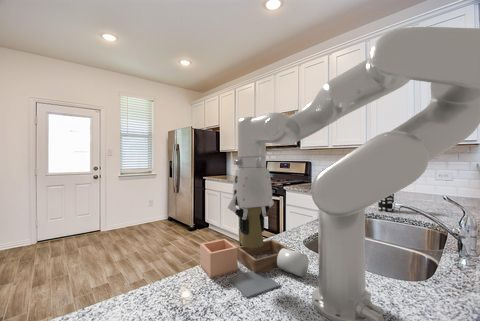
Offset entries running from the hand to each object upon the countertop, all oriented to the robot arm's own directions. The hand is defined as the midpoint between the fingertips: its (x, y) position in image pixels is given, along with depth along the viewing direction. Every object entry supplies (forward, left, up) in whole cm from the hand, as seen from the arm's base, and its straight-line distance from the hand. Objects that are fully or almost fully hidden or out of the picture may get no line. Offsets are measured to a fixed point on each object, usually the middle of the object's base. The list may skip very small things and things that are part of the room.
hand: (252, 231), depth 60 cm
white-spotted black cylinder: (+28, -116, -14) cm, 120 cm away
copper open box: (+12, +5, -14) cm, 19 cm away
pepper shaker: (0, 0, -3) cm, 4 cm away
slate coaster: (0, 0, -14) cm, 14 cm away
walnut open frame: (+9, -10, -14) cm, 19 cm away
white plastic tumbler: (-1, -13, -14) cm, 19 cm away
